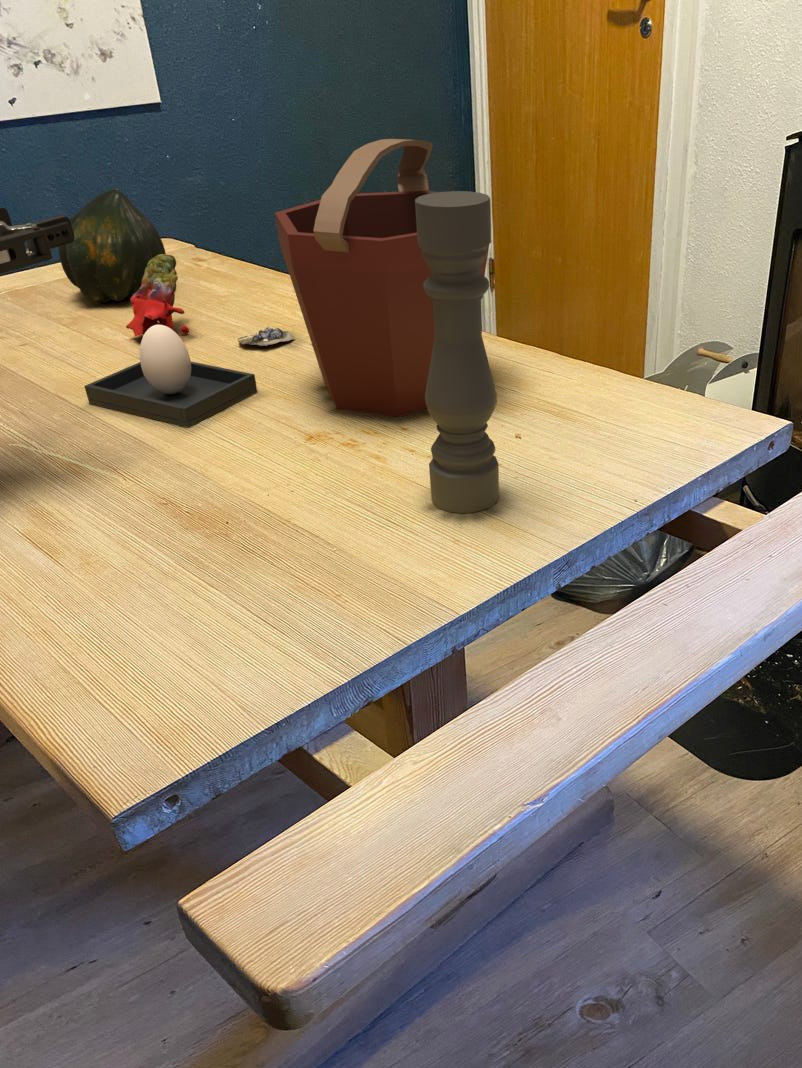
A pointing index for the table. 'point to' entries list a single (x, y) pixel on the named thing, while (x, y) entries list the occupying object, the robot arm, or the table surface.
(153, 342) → the egg
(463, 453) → the candle holder
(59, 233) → the robot arm
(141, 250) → the squash
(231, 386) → the tray
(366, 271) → the bucket
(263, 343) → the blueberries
